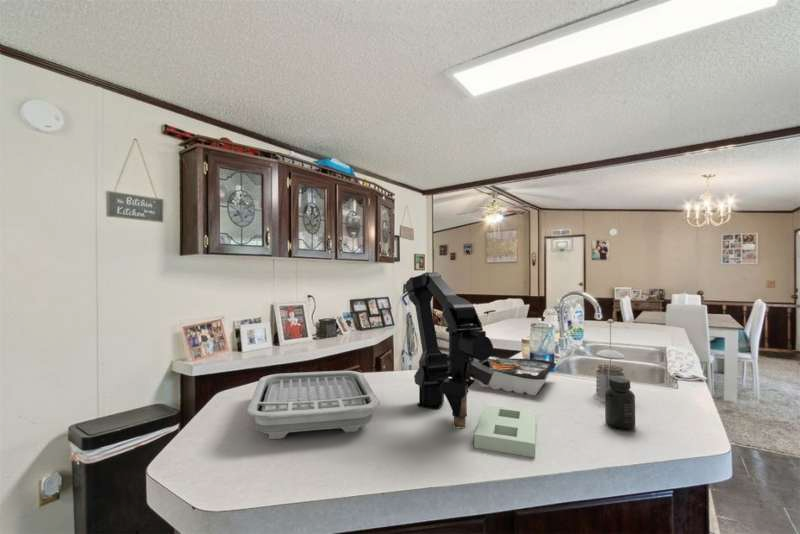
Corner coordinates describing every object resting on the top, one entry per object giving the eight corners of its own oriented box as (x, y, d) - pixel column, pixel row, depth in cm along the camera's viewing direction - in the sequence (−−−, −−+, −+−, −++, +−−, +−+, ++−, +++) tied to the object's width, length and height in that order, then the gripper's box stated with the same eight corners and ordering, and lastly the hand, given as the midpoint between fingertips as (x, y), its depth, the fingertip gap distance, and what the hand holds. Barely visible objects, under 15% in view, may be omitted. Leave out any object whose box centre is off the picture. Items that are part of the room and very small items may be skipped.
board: (535, 457, 82) (535, 443, 82) (474, 447, 86) (474, 434, 86) (535, 422, 100) (535, 411, 100) (485, 415, 105) (486, 404, 105)
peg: (450, 427, 97) (450, 388, 97) (453, 422, 100) (453, 384, 100) (465, 429, 95) (465, 390, 96) (468, 424, 99) (468, 385, 99)
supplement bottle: (631, 422, 101) (631, 377, 101) (638, 433, 94) (638, 385, 94) (602, 419, 103) (602, 375, 103) (607, 429, 96) (607, 382, 96)
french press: (630, 398, 120) (631, 319, 120) (623, 408, 111) (624, 322, 111) (596, 391, 126) (597, 316, 127) (587, 400, 118) (587, 319, 118)
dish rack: (360, 390, 126) (360, 366, 126) (383, 438, 91) (384, 405, 91) (260, 398, 119) (260, 372, 119) (242, 454, 83) (242, 417, 83)
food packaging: (468, 365, 130) (488, 353, 150) (467, 387, 130) (488, 372, 150) (544, 376, 118) (556, 361, 137) (544, 401, 118) (556, 382, 137)
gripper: (486, 363, 86) (486, 431, 86) (495, 347, 104) (495, 404, 104) (439, 358, 90) (438, 424, 90) (455, 344, 108) (455, 399, 108)
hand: (459, 412), depth 98 cm, fingers open, 6 cm apart
